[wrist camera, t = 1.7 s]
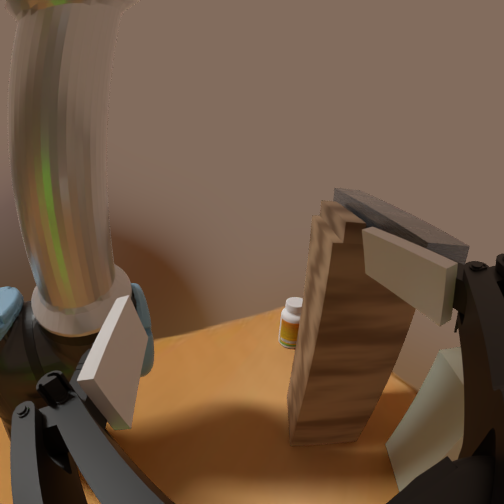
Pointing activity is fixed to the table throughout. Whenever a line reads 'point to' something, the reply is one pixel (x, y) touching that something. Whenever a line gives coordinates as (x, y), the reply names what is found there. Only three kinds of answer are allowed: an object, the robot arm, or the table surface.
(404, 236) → the bar
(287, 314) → the supplement bottle
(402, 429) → the rest block
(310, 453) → the table surface
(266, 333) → the table surface
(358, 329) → the stand
